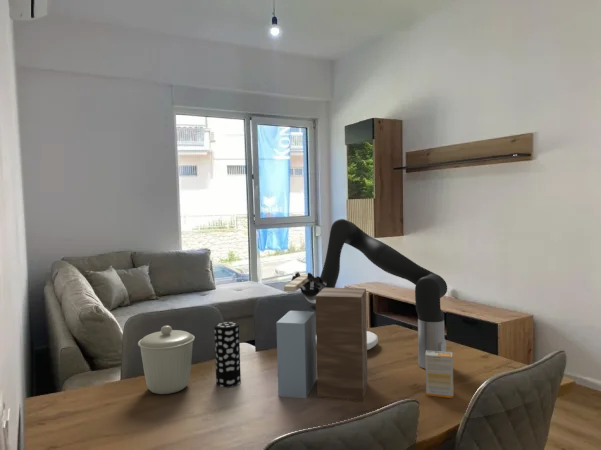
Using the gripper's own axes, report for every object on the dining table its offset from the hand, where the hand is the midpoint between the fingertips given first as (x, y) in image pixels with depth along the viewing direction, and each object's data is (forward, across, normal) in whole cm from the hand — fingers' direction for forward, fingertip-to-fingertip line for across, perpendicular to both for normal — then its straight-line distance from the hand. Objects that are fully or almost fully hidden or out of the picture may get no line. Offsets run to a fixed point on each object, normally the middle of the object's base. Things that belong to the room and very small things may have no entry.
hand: (302, 275), depth 158 cm
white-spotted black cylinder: (-9, -24, +37) cm, 45 cm away
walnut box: (-9, +15, +36) cm, 40 cm away
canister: (-1, -42, +41) cm, 59 cm away
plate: (-49, +10, +14) cm, 52 cm away
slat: (+4, 0, +5) cm, 6 cm away
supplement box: (-12, +45, +34) cm, 58 cm away
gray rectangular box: (-9, 0, +36) cm, 37 cm away
